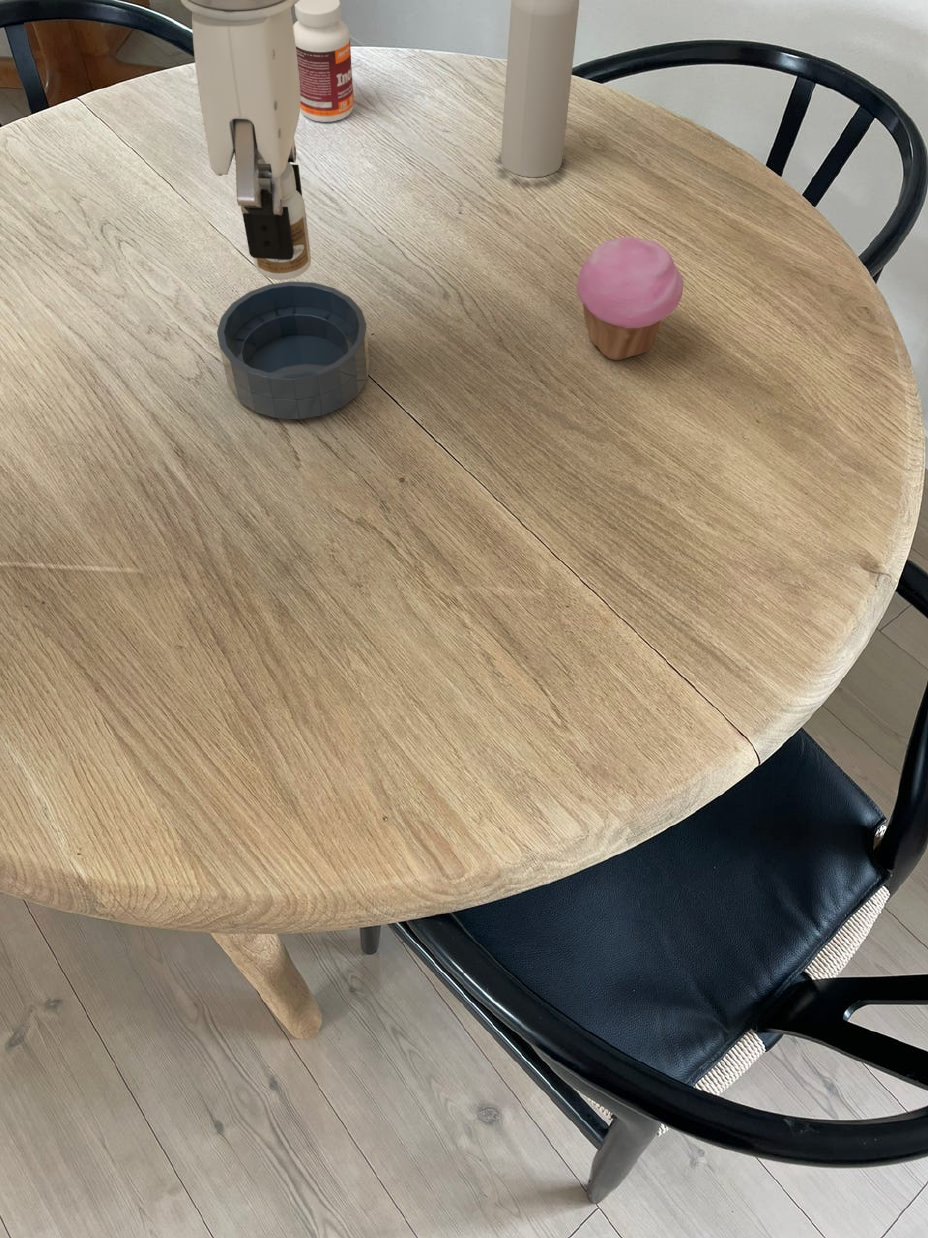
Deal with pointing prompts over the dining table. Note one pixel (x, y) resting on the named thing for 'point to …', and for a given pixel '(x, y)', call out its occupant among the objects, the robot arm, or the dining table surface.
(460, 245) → the dining table surface
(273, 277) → the pill bottle
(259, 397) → the bowl
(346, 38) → the pill bottle
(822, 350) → the dining table surface
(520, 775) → the dining table surface
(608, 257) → the cupcake
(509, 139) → the bottle
